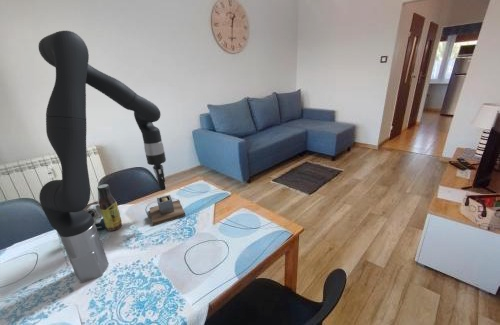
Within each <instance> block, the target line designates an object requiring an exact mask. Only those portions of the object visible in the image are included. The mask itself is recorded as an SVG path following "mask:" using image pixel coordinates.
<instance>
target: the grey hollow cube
mask: <svg viewBox="0 0 500 325" xmlns="http://www.w3.org/2000/svg"><path fill="white" fill-rule="evenodd" d="M163 198H167V199H168V201H164V202H162V199H163ZM156 202H157V206H158V207H159V211H160V214H161V215H164V214H167V213H171V212H174V207H173V198H172V196H171V195H170V194H168V195H164V196H160V197H156Z"/></svg>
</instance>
